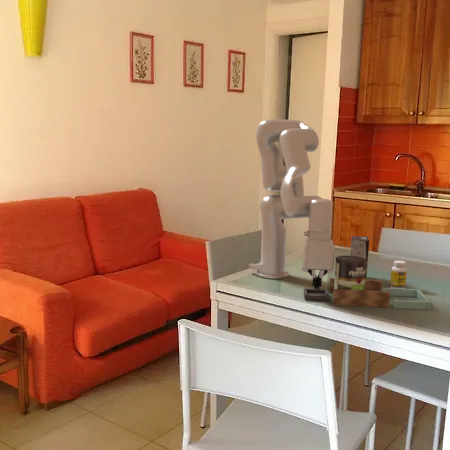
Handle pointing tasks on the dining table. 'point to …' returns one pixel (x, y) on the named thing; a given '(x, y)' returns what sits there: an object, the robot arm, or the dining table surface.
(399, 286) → the supplement bottle
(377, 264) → the dining table surface
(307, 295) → the tray
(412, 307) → the dock
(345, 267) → the coffee can
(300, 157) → the robot arm
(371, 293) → the channel
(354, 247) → the coffee box
